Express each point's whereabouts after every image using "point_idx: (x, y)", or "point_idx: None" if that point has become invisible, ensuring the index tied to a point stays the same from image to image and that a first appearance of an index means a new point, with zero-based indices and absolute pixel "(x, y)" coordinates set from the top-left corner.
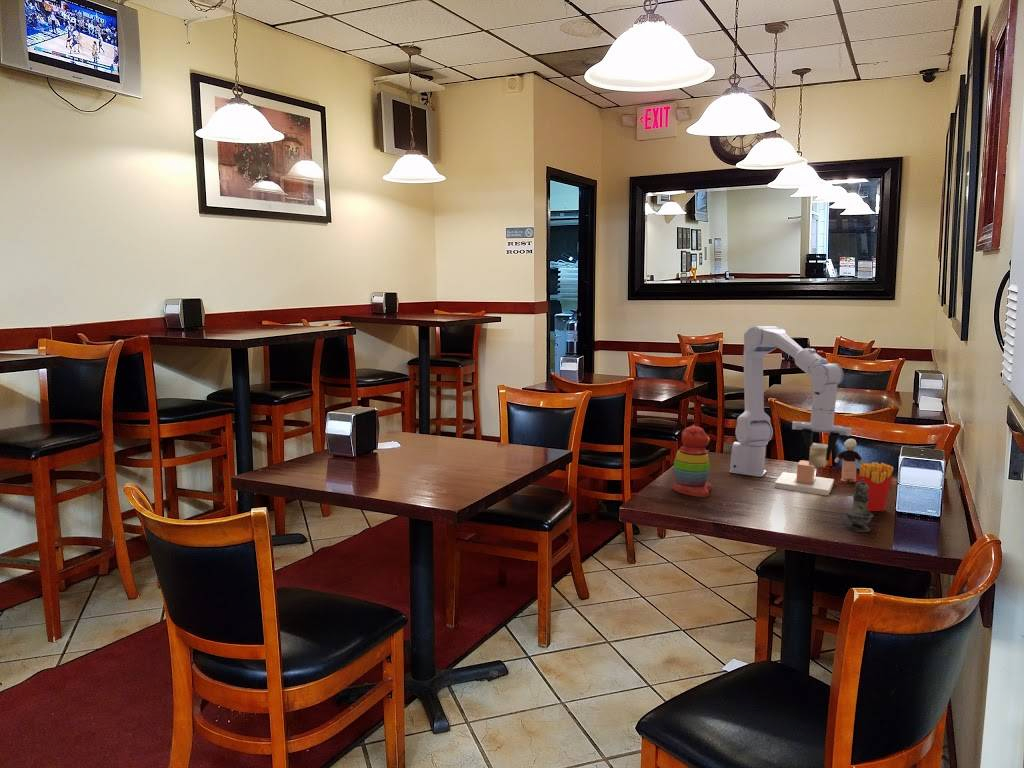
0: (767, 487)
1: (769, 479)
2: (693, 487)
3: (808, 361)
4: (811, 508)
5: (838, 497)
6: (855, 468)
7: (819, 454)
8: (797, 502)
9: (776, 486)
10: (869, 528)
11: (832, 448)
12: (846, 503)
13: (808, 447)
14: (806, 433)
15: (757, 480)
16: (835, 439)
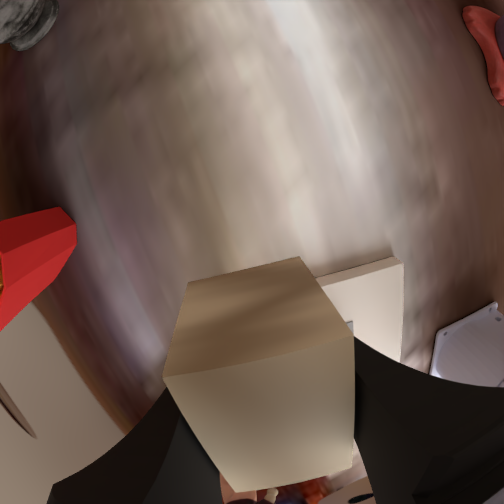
0: (410, 238)
1: (418, 334)
2: (494, 15)
3: None
4: (189, 72)
5: (175, 310)
6: (221, 489)
7: (231, 319)
8: (262, 110)
9: (390, 259)
10: (10, 42)
11: (138, 425)
12: (122, 254)
13: (368, 363)
14: (490, 440)
15: (443, 294)
16: (63, 487)
